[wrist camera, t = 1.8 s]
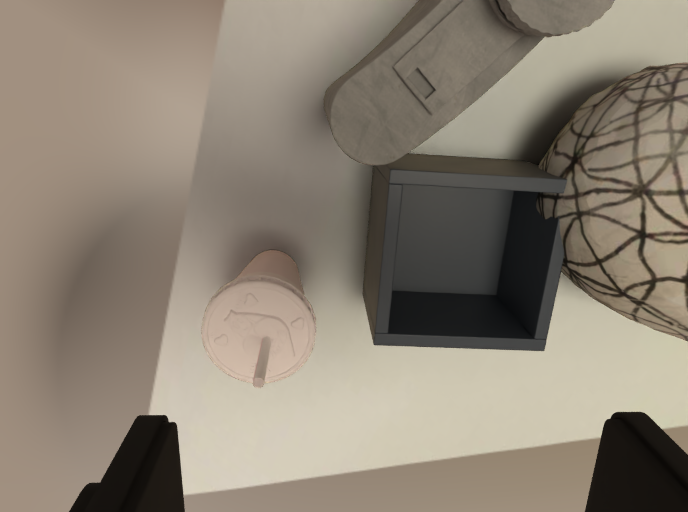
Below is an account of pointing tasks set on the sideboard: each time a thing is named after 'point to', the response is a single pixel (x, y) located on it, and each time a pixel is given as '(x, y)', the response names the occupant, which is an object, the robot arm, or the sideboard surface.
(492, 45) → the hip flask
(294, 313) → the smoothie
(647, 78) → the sculpture
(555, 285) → the bin
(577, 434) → the sideboard surface
